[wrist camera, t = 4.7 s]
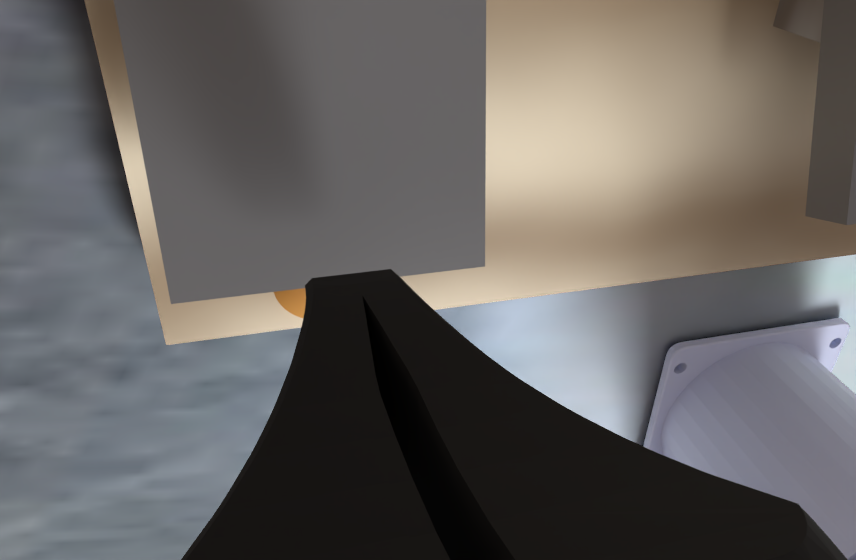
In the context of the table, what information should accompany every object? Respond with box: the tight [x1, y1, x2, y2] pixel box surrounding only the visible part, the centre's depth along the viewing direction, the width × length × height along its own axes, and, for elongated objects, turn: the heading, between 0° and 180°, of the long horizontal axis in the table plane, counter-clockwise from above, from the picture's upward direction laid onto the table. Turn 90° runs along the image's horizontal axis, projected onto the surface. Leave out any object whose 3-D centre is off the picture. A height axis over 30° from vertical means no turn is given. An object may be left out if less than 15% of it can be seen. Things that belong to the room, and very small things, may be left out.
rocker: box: [114, 0, 486, 304], centre depth 12 cm, size 9×6×1 cm, turn 179°
